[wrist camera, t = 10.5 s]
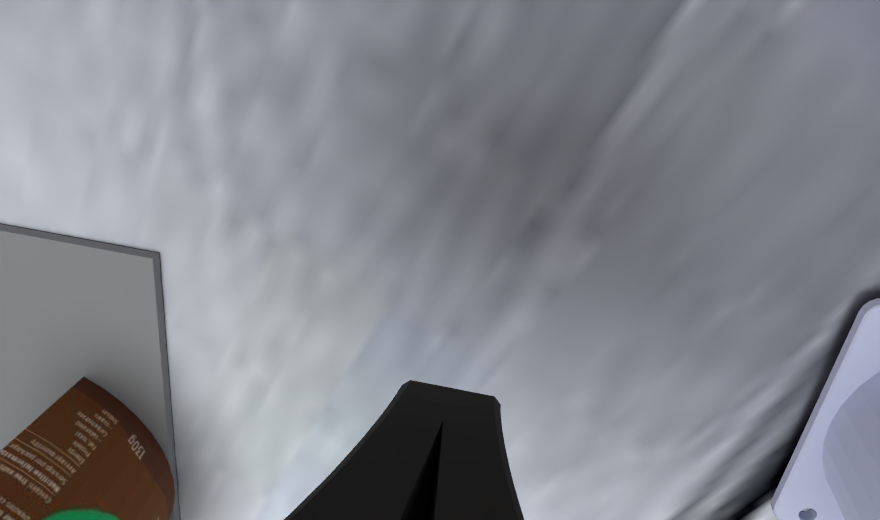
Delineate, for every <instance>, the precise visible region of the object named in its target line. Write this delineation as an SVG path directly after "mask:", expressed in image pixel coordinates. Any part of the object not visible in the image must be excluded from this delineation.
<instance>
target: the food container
mask: <svg viewBox="0 0 880 520" xmlns="http://www.w3.org/2000/svg"><path fill="white" fill-rule="evenodd" d="M174 500H175V486H174V478H173V475H172V471H171V468H170V464H169V462H168V460H167V458H166V456H165V454H164V452H163V450H162V448H161V446H160V445H159V443H158V442H157V440H156V439H155V437H154V436H153V434H152V433H151V432H150V430H149V429H148V428H147V427H146V426H145V425H144V423H143V422H142V421H141V420H140V419H139V417H137V416H136V415H135V414H134V413H133V412H132V411H131V410H130V409H129V408H128V407H127V406H126V405H125V404H124V403H123V402H121V401H120V400H119V399H117V398H116V397H115V396H113V395H112V394H111V393H109V392H108V391H107V390H105V389H104V388H102V387H100V386H99V385H97V384H95V383H94V382H92V381H90V380H89V379H87V378H85V377H84V376H83V377H82V378H81V379H80V380H79V381H78V382H77V383H76V384H74V385H73V386H72V387H71V388H70V389H69V390H68V391H67V392H65V393H64V394H63V395H62V396H61V397H60V398H59V399H58V400H57V401H55V402H54V403H53V404H52V405H51V406H50V407H49V408H48V409H46V410H45V411H44V412H43V413H42V414H41V415H40V416H39V417H37V418H36V419H35V420H34V421H33V422H32V423H31V424H30V425H29V426H27V427H26V428H25V429H24V430H23V431H22V432H21V433H20V434H18V435H17V436H16V437H15V438H14V439H13V440H12V441H11V442H10V443H8V444H7V445H6V446H5V447H4V448H3V449H2V450H1V451H0V520H169V518H170V515H171V512H172V510H173V507H174Z"/></svg>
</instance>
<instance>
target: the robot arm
mask: <svg viewBox="0 0 880 520" xmlns="http://www.w3.org/2000/svg"><path fill="white" fill-rule="evenodd" d="M771 506H772V509H773V512H774V514H775V516H776V517H777V518H778V519H780V520H880V298H877V299H874V300H870V301H869V302H867V303H866V304H864V305H863V306H862V308H861V309H860V310H859V312H858V314H857V317H856V319H855V321H854V323H853V325H852V327H851V330H850V332H849V334H848V336H847V338H846V340H845V342H844V345H843V347H842V349H841V351H840V353H839V355H838V358H837V360H836V362H835V364H834V366H833V368H832V370H831V373H830V375H829V377H828V379H827V381H826V383H825V386H824V388H823V390H822V392H821V394H820V396H819V399H818V401H817V403H816V405H815V407H814V409H813V411H812V414H811V416H810V418H809V420H808V422H807V424H806V427H805V429H804V431H803V433H802V435H801V437H800V439H799V442H798V444H797V446H796V448H795V450H794V452H793V455H792V457H791V459H790V461H789V463H788V465H787V468H786V470H785V472H784V474H783V476H782V478H781V480H780V483H779V485H778V487H777V489H776V491H775V493H774V496H773V498H772V500H771ZM806 508H811V509H810V510H807V511H801V510H803V509H806ZM284 520H524V518H523V515H522V511H521V508H520V504H519V501H518V498H517V494H516V491H515V487H514V484H513V480H512V476H511V472H510V468H509V463H508V459H507V454H506V449H505V444H504V438H503V432H502V425H501V413H500V403H499V402H498V401H497V399H496V398H495V397H494V396H489V395H484V394H479V393H474V392H469V391H464V390H458V389H453V388H448V387H443V386H438V385H433V384H427V383H422V382H417V381H412V380H410V381H408V382H407V383H405V384H403V385H402V386H401V388H400V389H399V391H398V392H397V394H396V395H395V397H394V398H393V400H392V401H391V403H390V404H389V405H388V407H387V408H386V410H385V411H384V412H383V414H382V415H381V416H380V417H379V419H378V420H377V421H376V422H375V424H374V425H373V426H372V427H371V429H370V430H369V431H368V432H367V433H366V435H365V436H364V437H363V438H362V439H361V441H360V442H359V443H358V444H357V445H356V446H355V447H354V448H353V450H352V451H351V452H350V453H349V454H348V455H347V456H346V457H345V458H344V460H343V461H342V462H341V463H340V464H339V465H338V466H337V467H336V468H335V470H334V471H333V472H332V473H331V474H330V475H329V476H328V477H327V478H326V479H325V480H324V481H323V482H322V483H321V484H320V485H319V486H318V487H317V488H316V489H315V490H314V491H313V492H312V493H311V494H310V495H309V496H308V497H307V498H306V499H305V500H304V501H303V502H302V503H301V504H300V505H299V506H298V507H297V508H296V509H295V510H294V511H293V512H292V513H291V514H290V515H288V516H287V517H286V518H285V519H284Z"/></svg>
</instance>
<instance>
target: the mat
mask: <svg viewBox="0 0 880 520" xmlns="http://www.w3.org/2000/svg"><path fill="white" fill-rule="evenodd" d="M83 376H84V377H85V378H87V379H89V380H90V381H92V382H94V383H95V384H97V385H99V386H100V387H102V388H104V389H105V390H107V391H108V392H109V393H111V394H112V395H113V396H115V397H116V398H117V399H119V400H120V401H121V402H123V403H124V404H125V405H126V406H127V407H128V408H129V409H130V410H131V411H132V412H133V413H134V414H135V415H136V416H137V417H139V419H140V420H141V421H142V422H143V423H144V425H145V426H146V427H147V428H148V429H149V430H150V432H151V433H152V434H153V436H154V437H155V439H156V440H157V442H158V443H159V445H160V446H161V448H162V450H163V452H164V454H165V456H166V458H167V460H168V462H169V464H170V468H171V471H172V475H173V478H174V486H175V500H174V507H173V510H172V512H171V515H170V518H169V520H180V513H179V500H178V488H177V475H176V462H175V449H174V437H173V424H172V411H171V398H170V386H169V373H168V360H167V347H166V335H165V322H164V309H163V296H162V284H161V271H160V258H159V253H156V252H150V251H145V250H140V249H134V248H129V247H123V246H118V245H112V244H107V243H101V242H96V241H90V240H85V239H80V238H74V237H69V236H63V235H58V234H52V233H47V232H41V231H36V230H30V229H25V228H20V227H14V226H9V225H3V224H0V451H1V450H2V449H3V448H4V447H5V446H6V445H7V444H8V443H10V442H11V441H12V440H13V439H14V438H15V437H16V436H17V435H18V434H20V433H21V432H22V431H23V430H24V429H25V428H26V427H27V426H29V425H30V424H31V423H32V422H33V421H34V420H35V419H36V418H37V417H39V416H40V415H41V414H42V413H43V412H44V411H45V410H46V409H48V408H49V407H50V406H51V405H52V404H53V403H54V402H55V401H57V400H58V399H59V398H60V397H61V396H62V395H63V394H64V393H65V392H67V391H68V390H69V389H70V388H71V387H72V386H73V385H74V384H76V383H77V382H78V381H79V380H80V379H81V378H82V377H83Z"/></svg>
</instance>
